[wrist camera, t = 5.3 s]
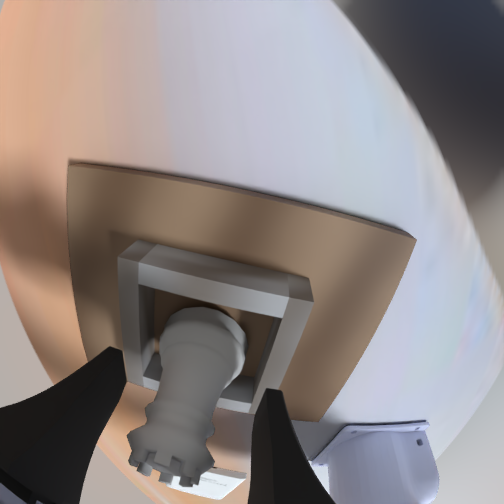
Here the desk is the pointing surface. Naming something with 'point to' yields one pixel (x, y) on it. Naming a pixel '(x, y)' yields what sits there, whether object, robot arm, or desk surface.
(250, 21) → the desk surface
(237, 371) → the rook chess piece
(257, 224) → the socket board
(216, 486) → the external hard drive
